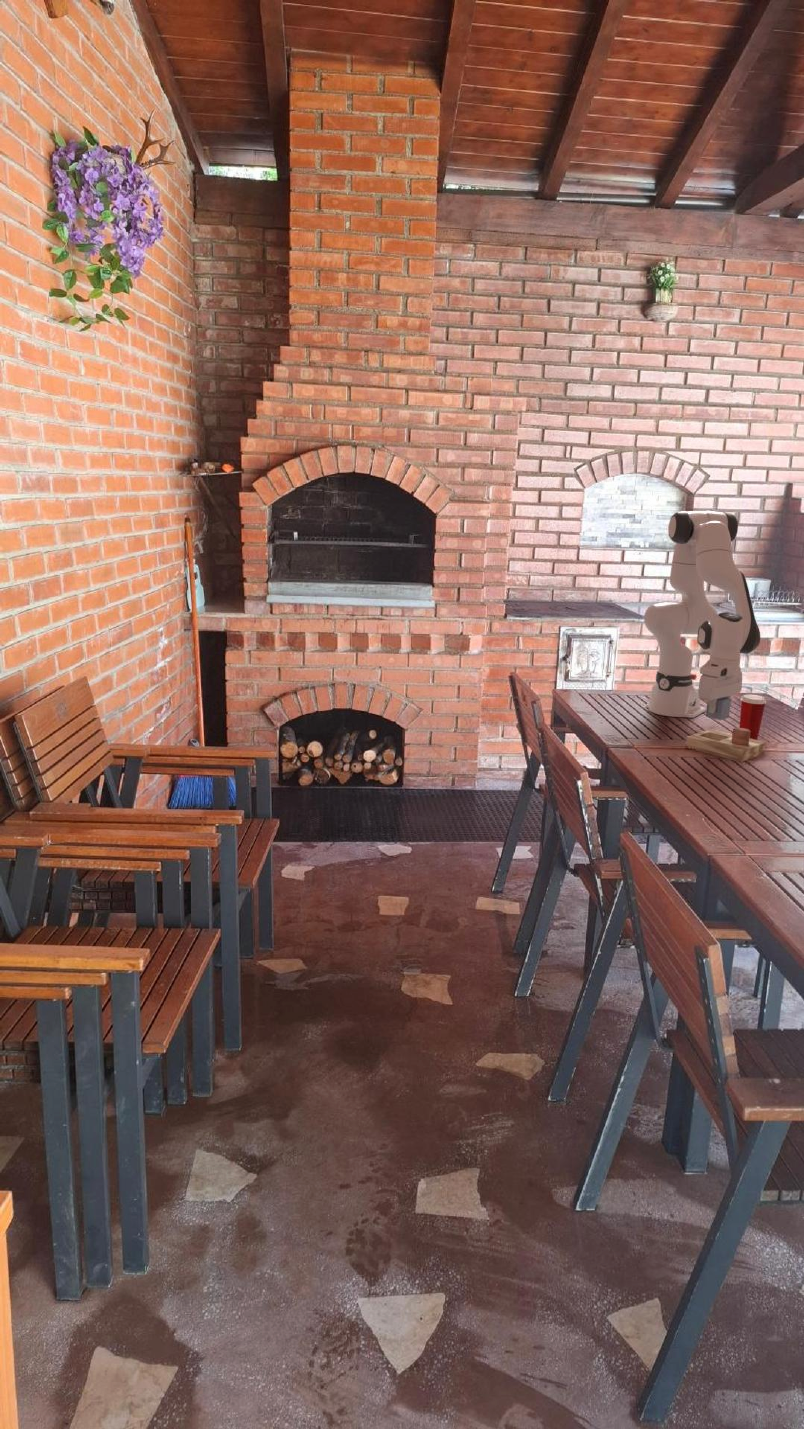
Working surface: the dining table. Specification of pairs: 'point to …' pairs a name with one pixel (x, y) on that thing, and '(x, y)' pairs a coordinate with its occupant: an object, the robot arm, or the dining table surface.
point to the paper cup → (752, 714)
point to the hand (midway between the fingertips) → (717, 711)
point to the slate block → (720, 709)
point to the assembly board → (727, 744)
